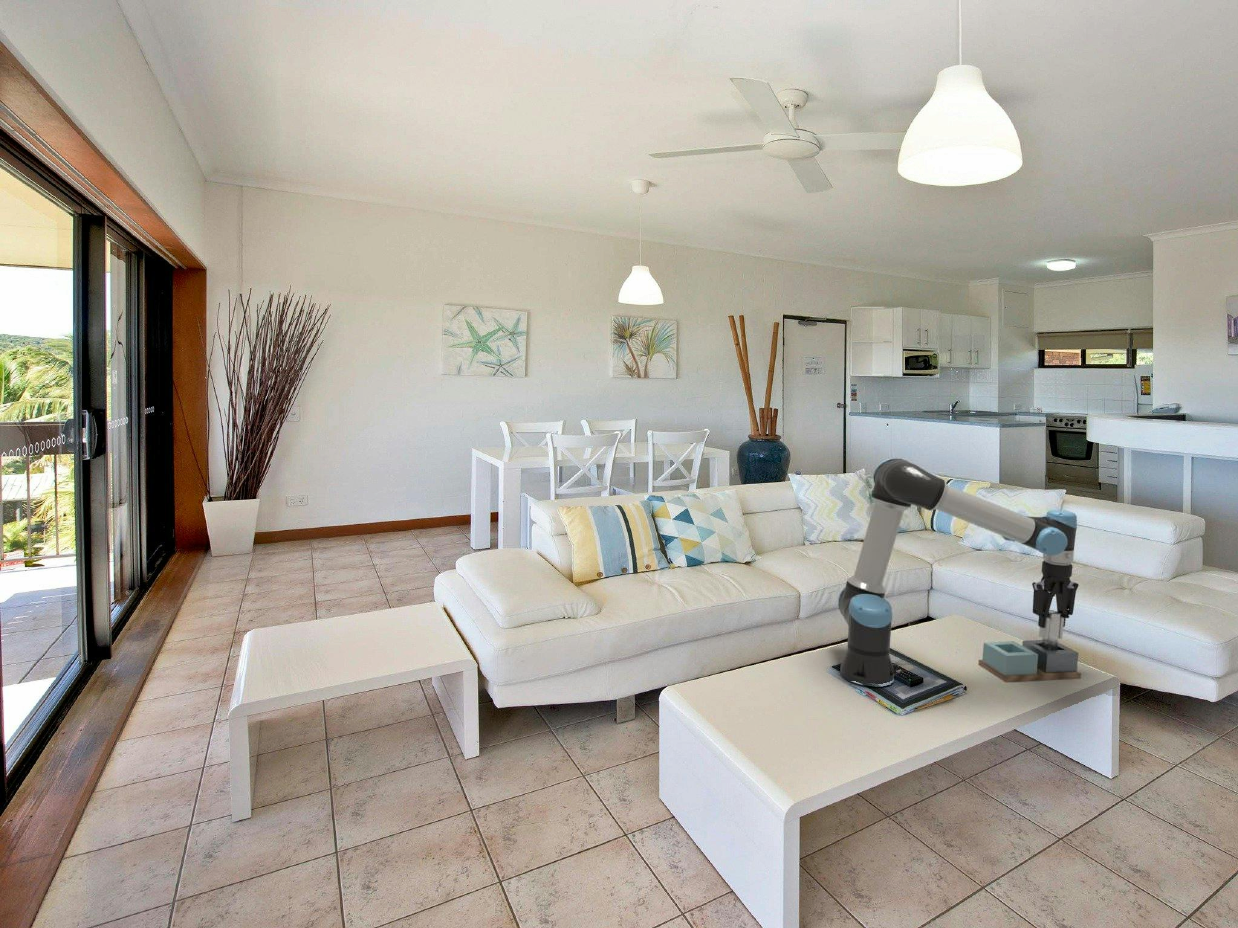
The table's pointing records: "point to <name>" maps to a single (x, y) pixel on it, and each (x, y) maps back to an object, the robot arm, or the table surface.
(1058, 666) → the socket block
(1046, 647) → the translucent peg
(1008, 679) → the tool board
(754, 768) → the table surface
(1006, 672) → the teal square holder
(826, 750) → the table surface
